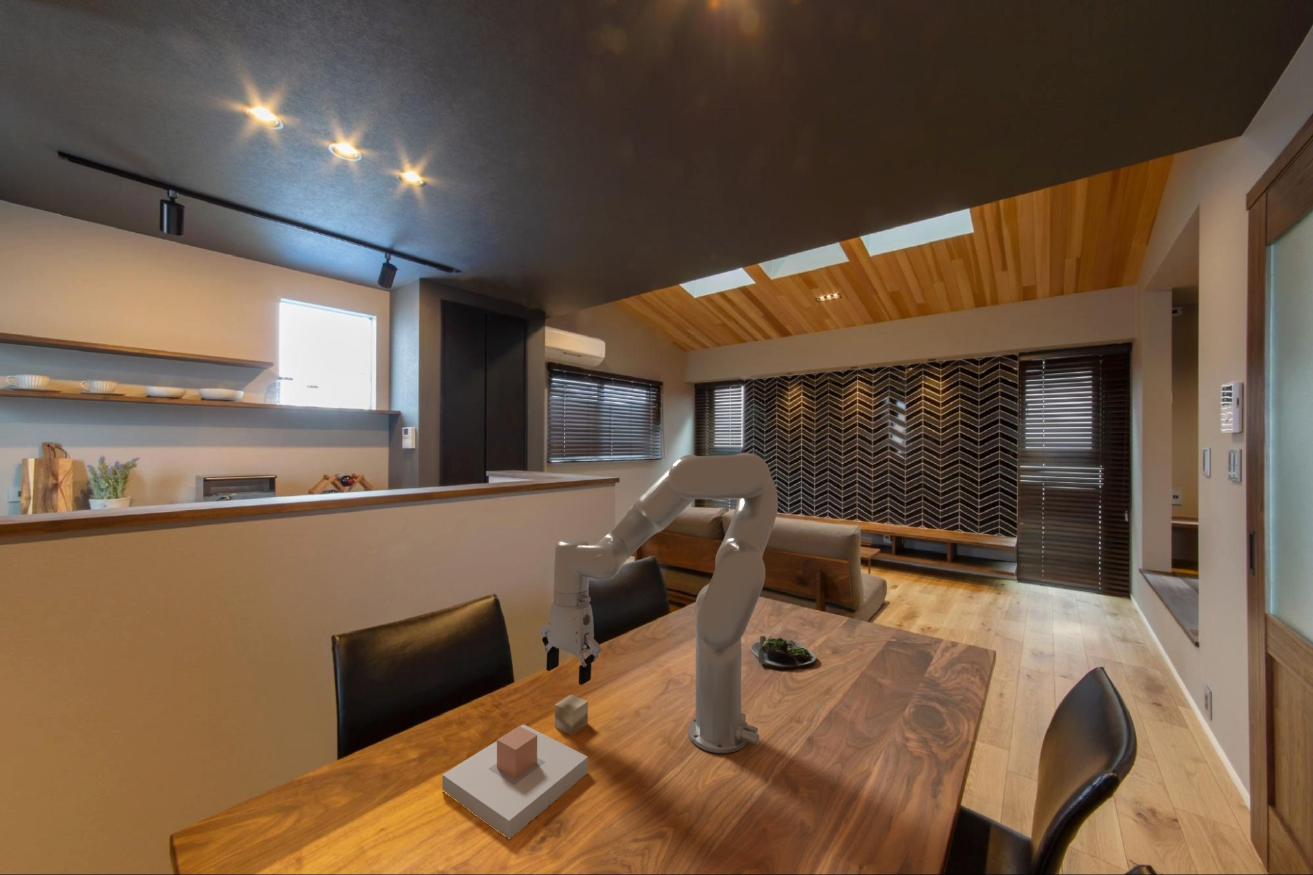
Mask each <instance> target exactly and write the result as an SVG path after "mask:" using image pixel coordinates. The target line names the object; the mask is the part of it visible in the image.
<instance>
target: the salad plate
mask: <svg viewBox="0 0 1313 875" xmlns="http://www.w3.org/2000/svg"><path fill="white" fill-rule="evenodd" d="M750 650H751V652H752V653H753V654H754V655H755V657H756V658H757V661H758V663H759V664H762V665H764V666H765V667H767V668H771V669H772V670H778V671H794V670H803V669H808V668H811V667H813V666H814V665H815V664H816V662H817V655H816V654H815V653H813V652H812V651H811V650H809V649H808V648H806V647H805V646H804V645H802V643H800V642H798V641H796V640H791V639H786V638H785V639H783V638H782V637H774V638H772V636H769V637H768V638H766V636H765V635H760V637H759V641H757V642H754V643H753V644H751V646H750Z"/></svg>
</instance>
